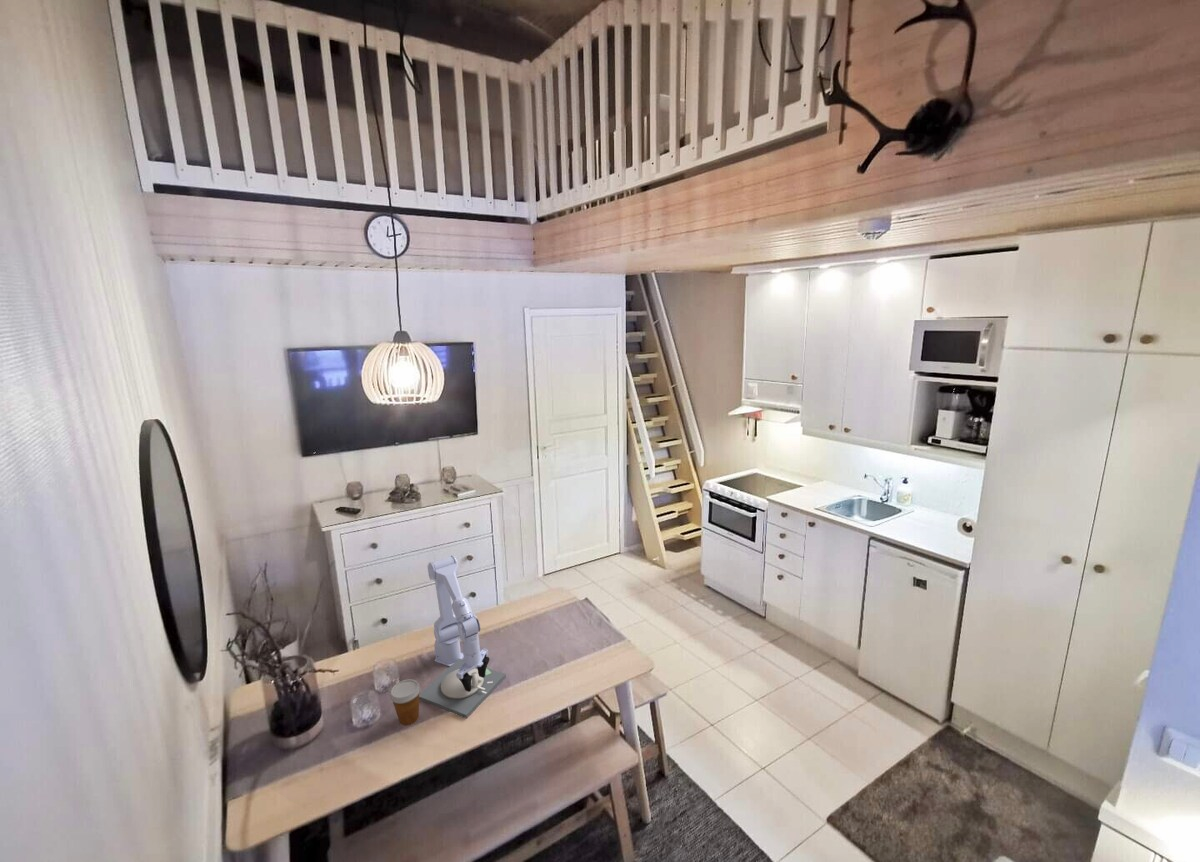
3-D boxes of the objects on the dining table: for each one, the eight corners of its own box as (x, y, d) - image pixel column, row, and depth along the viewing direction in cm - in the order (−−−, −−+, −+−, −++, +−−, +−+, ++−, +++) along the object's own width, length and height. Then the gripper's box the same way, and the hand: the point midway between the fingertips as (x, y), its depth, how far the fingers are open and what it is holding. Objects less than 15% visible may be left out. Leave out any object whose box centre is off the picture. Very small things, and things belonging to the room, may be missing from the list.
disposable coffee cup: (396, 734, 173) (391, 702, 170) (392, 714, 181) (387, 684, 179) (426, 722, 177) (422, 691, 175) (421, 704, 186) (417, 674, 183)
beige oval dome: (431, 691, 189) (430, 676, 188) (460, 665, 202) (458, 651, 201) (471, 706, 181) (469, 691, 180) (498, 678, 194) (496, 664, 193)
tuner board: (417, 699, 188) (417, 695, 188) (459, 661, 207) (459, 657, 207) (466, 718, 178) (466, 714, 178) (506, 677, 197) (505, 673, 197)
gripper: (466, 665, 178) (470, 700, 181) (493, 640, 190) (496, 673, 194) (450, 660, 181) (454, 694, 184) (477, 636, 194) (481, 668, 197)
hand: (475, 683), depth 189 cm, fingers open, 7 cm apart
